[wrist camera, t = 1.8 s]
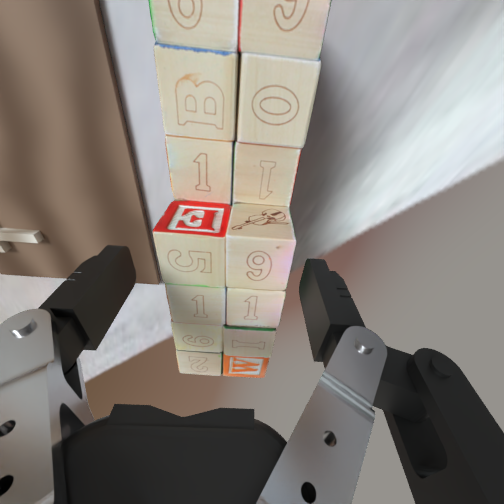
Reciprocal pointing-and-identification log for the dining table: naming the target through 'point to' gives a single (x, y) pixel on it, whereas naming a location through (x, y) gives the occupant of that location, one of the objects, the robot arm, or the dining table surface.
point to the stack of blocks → (232, 169)
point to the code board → (64, 145)
